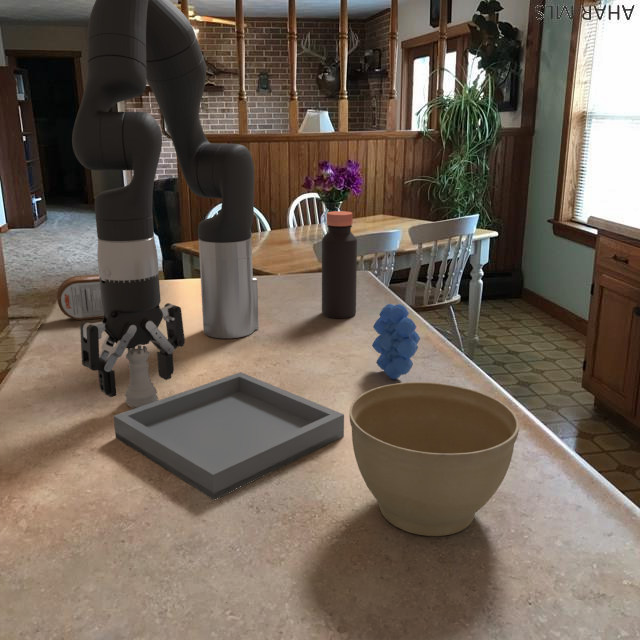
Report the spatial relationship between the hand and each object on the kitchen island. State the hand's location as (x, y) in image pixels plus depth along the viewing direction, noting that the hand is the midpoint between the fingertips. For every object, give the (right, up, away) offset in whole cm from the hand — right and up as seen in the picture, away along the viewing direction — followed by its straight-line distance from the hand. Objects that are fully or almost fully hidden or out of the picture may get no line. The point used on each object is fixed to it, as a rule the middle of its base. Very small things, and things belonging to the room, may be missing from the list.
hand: (138, 386), depth 93 cm
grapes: (+37, 0, +9) cm, 38 cm away
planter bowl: (+36, -10, -24) cm, 45 cm away
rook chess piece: (0, -2, +1) cm, 3 cm away
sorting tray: (+14, -5, -9) cm, 17 cm away
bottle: (+29, +10, +41) cm, 51 cm away
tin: (-18, +9, +39) cm, 44 cm away
